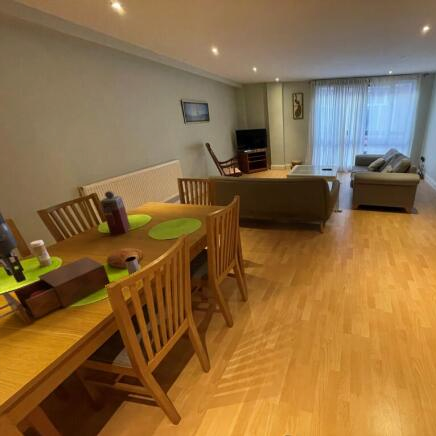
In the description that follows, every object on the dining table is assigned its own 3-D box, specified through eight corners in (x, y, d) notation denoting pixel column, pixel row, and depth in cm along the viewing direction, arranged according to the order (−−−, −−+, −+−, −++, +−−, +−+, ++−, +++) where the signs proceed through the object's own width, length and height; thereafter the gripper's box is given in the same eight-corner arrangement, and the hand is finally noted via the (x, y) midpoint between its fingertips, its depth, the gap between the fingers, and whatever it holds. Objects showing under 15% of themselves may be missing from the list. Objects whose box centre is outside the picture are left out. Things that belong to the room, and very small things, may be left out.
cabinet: (64, 309, 94) (54, 287, 90) (48, 297, 101) (37, 276, 97) (111, 285, 108) (103, 264, 104) (93, 275, 115) (86, 256, 110)
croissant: (123, 276, 118) (119, 263, 114) (102, 264, 123) (98, 252, 119) (149, 260, 130) (147, 248, 126) (130, 251, 135) (127, 239, 131)
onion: (23, 304, 88) (47, 287, 92) (20, 298, 91) (44, 282, 95) (37, 312, 91) (60, 296, 96) (34, 306, 95) (56, 290, 99)
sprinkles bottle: (48, 267, 122) (37, 243, 117) (38, 267, 121) (26, 244, 116) (55, 262, 126) (44, 239, 121) (45, 262, 125) (34, 240, 120)
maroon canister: (109, 236, 153) (95, 194, 142) (116, 229, 163) (103, 189, 152) (124, 235, 155) (112, 193, 144) (130, 228, 165) (119, 188, 154)
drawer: (4, 337, 81) (-9, 317, 78) (-10, 322, 87) (-22, 303, 84) (79, 298, 99) (71, 280, 95) (63, 288, 104) (55, 271, 101)
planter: (137, 273, 116) (131, 255, 112) (143, 276, 114) (138, 257, 110) (128, 279, 112) (122, 260, 108) (135, 281, 110) (129, 262, 106)
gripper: (-28, 237, 80) (-5, 277, 86) (-14, 247, 74) (9, 289, 80) (4, 229, 86) (23, 267, 92) (20, 237, 80) (39, 277, 86)
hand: (17, 277), depth 86 cm, fingers open, 8 cm apart
